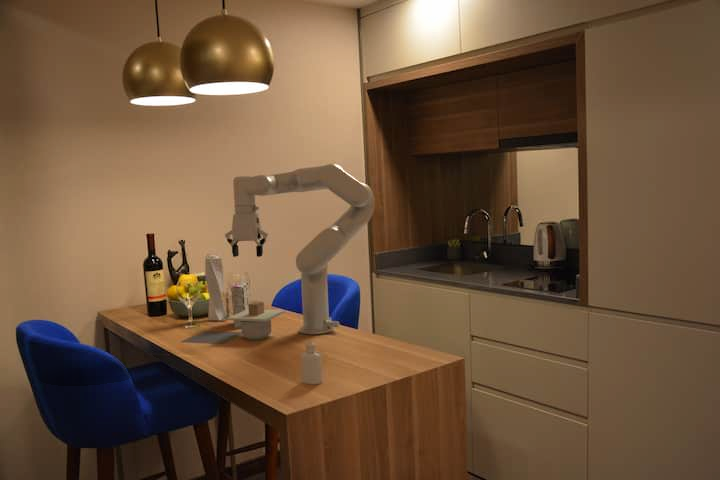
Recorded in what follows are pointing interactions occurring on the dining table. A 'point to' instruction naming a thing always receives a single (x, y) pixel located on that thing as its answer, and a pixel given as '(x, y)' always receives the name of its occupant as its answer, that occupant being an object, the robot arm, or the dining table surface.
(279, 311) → the lid
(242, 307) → the candy bar box
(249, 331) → the teacup
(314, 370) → the eye dropper bottle
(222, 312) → the skyscraper
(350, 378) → the dining table surface
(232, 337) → the mat
